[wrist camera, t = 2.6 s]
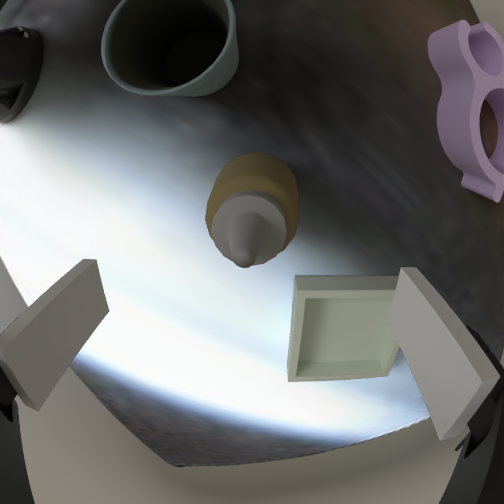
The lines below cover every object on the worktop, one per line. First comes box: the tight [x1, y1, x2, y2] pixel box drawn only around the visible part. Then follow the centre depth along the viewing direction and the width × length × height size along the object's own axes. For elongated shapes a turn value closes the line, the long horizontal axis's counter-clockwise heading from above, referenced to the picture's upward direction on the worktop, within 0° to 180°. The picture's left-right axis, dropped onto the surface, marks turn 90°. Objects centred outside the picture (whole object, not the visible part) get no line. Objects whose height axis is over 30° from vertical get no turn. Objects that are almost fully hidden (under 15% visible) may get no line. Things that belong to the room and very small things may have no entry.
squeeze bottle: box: [205, 152, 299, 268], centre depth 23 cm, size 8×8×18 cm
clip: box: [428, 20, 504, 202], centre depth 22 cm, size 20×12×7 cm, turn 20°
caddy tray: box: [287, 275, 400, 382], centre depth 36 cm, size 15×15×4 cm
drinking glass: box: [101, 0, 239, 97], centre depth 20 cm, size 10×10×12 cm
